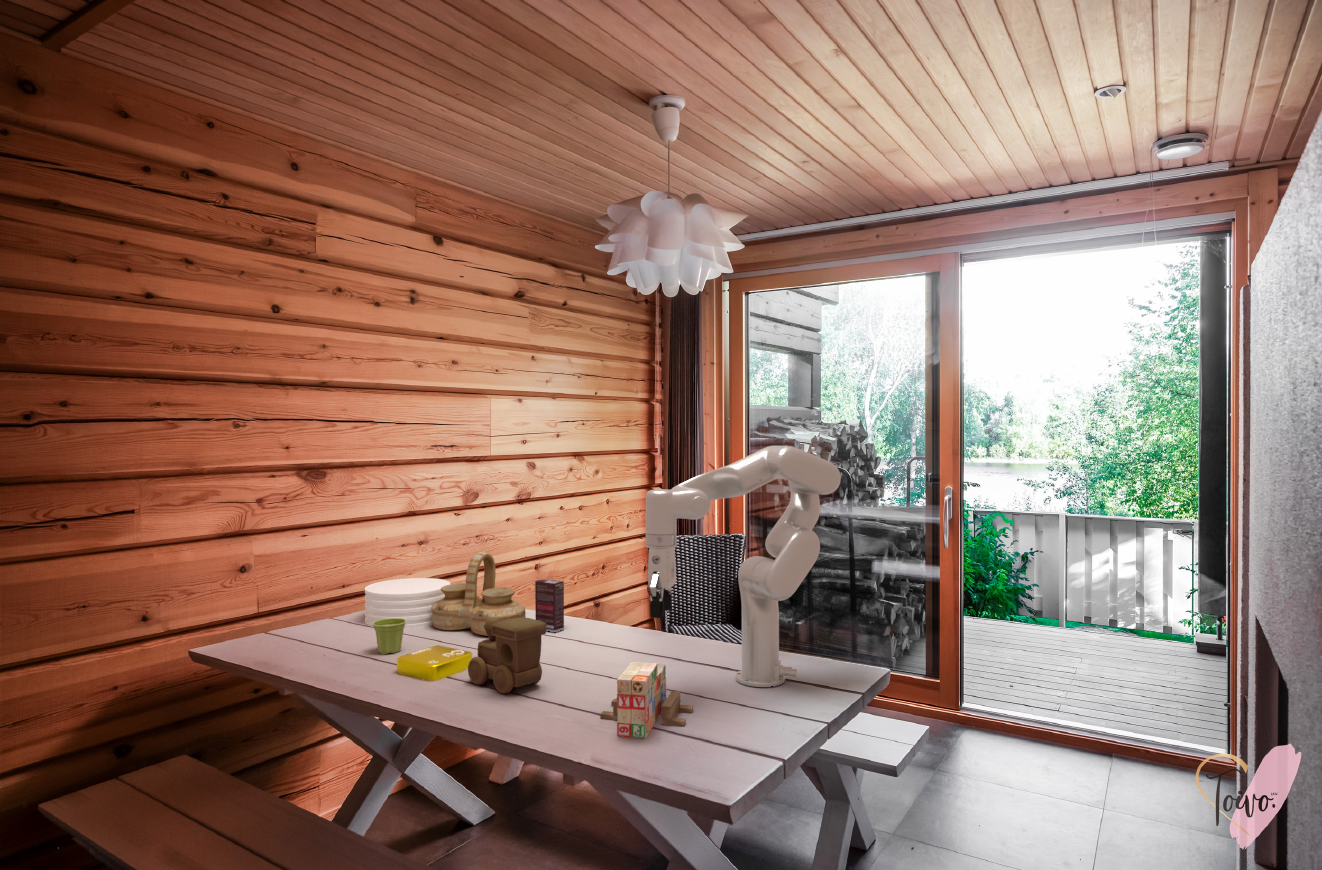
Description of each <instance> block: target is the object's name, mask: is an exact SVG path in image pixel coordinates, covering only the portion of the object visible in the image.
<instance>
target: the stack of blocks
mask: <svg viewBox="0 0 1322 870" xmlns="http://www.w3.org/2000/svg"><path fill="white" fill-rule="evenodd" d="M666 668H667V667H666V664H663V663H662V664H661V663H657V662H638V661H631V662H630V663H629V664H628V666H627V667H626V668H625V670H624V671H623V672H622V673H621V674H620V676H619V677H618V678H617V679H616V684H617V687H616V692H617V693H616V698H617V720H616V721H617V722H616V727H617V728H616V736H617V737H620V736H621V737H622V736H624V737H623V738H633V737H637V738H636V739H644V738H645V739H646V738H647V736H648V735H649V734H650V732H651V731H652V728H654V726H653V725H656V721H657V720H658V717H659V716H660V715H661V706H662V704H663V703H664V701H665V700H666V699H667V677H666V673H667V672H666Z"/></svg>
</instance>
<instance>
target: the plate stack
mask: <svg viewBox="0 0 1322 870" xmlns="http://www.w3.org/2000/svg"><path fill="white" fill-rule="evenodd" d="M450 584H451V582H450V581H448V580H446V579H442V578H436V577H435V578H432V577H409V578H397V579H388V580H384V581H383V580H382V581H378V582H374V583H371V584H368V585H367V586H365V588H364V594H365V595H364V601H365V602H364V608H365V610H364V617H365V618H364V623H365V625H367V626H370V627H373V628H374V626H373V625H372V623H373V622H375V621H378V620H382V619H389V618H401V619H405V620H406V623H405V627H404V629H412V628H420V627H421V628H422V627H427V626H432V625H433V623H432V609H431V607H432V605H434V604H435V603H436V602H438V601H439V600H441V599H443V598H444V597H445V594H444V593H443V592H442V591H441V588H442V587H443V586H446V585H450ZM431 624H432V625H431Z"/></svg>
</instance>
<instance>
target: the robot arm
mask: <svg viewBox="0 0 1322 870" xmlns="http://www.w3.org/2000/svg"><path fill="white" fill-rule="evenodd" d="M841 478H842V476H841V473H840V470H839V468H838V467H837V466H836V465H835V464H834V463H833V462H831V461H829V460H827V459H825V458H821V457H819V456H816V455H815V454H812V453H810V452H808V451H805V450H803V449H800V448H797V447H795V446H792V445H791V446H790V445H770V446H769V445H768V446H766V447H764V448H761V449H759V450H756V451H755V452H753V453H751V454H749V455H747V456H745V457H743V458H741V459H739V460H736V461H735V462H732V463H730V464H728V465H724V466H721V467H718V468H715V469H713V470H711V471H708V472H704V473H702V474H699V475H697V476H694V477H692V478H689V479H688V480H686V481H683V482H681V483H679V484H677V485H675V486H674V487H672V488H671V489H666V488H665V489H663V488H661V489H659V488H658V489H650V490H648V491H647V492H646V494H645V547H646V548H647V549H649V550H648V561H647V562H648V564H647V565H648V566H647V567H648V568H647V582H648V583H647V584H648V588H649V590H650V593H649V594H650V596H649V597H650V607H649V608H650V610H649V612H650V615H649V616H650V618H653V619H655V618H656V619H663V618H665V611H666V612H670V611H671V610H672V604H673V603H672V597H673V596H672V587H673V586H674V585H676V583H677V569H676V568H677V567H676V566H677V565H676V564H677V563H676V552H675V548H677V546H678V544H677V543H678V542H677V541H678V539H677V533H678V532H677V529H678V528H677V527H678V526H677V525H678V524H677V521H678V519H684V520H685V519H686V520H699V519H702V518H704V517H706V515H708V513H709V511H710V509H711V507H712V505H711V504H712V503H711V502H712V501H716V500H721V499H730V498H737V497H741V496H745V495H747V494H749V493H751V492H752V491H754V490H757V489H758V488H761V487H762V486H764V485H766V484H769V483H771V482H772V481H775V480H777V479H780V480H781V479H782V480H787V482H788V487H789V491H790V499H789V500H790V501H789V503H788V506H787V507H786V509H785V510H784V511H783V513H782V515H781V517H780V518H779V519H778V520H777V522H776V523H775V524H774V526H773V528H772V529H771V530H770V531H769V533H768V534H767V537H765V538H766V539H765V545H764V546H765V549H766V552H767V553H768V554H769V555H770V556H771V557H773V558H775V559H773V558H770V557H765V556H761V555H760V556H759V555H753V556H749V557H748V558H746V559H745V560H744V561H743V562H742V563H741V565H740V566H739V569H738V573H737V574H738V575H737V576H738V577H737V578H738V587H739V592H740V601H741V670H738V671H737V672H736V674H735V680H736V681H737V682H738V683H740V684H741V685H745V686H749V687H754V688H770V687H771V686H773V687H778V686H781V685H782V683H783V684H784V683H785V682H786V676H787V677H793V678H794V677H795V678H796V677H797V668H793V666H784V665H783V664H782V660H780V652H779V651H780V610H779V601H780V602H782V601H785V600H787V599H789V598H791V597H792V596H793V595H794V594H795V592H796V591H797V590H798V588H799V587H800V586H801V584H802V582H803V581H804V580H805V578H806V577H807V576H808V574H809V572H810V571H811V569H812V568H813V566H814V565H815V563H816V561H817V559H818V558H819V556H820V551H821V544H820V543H821V542H820V539H819V536H818V534H816V532H815V531H814V530H813V529H814V527H815V526H816V524H817V522H818V520H819V517H820V513H821V503H820V495H823V496H824V495H825V496H826V495H829V494H832V493H834V492H836V491H837V490H838V488H839V486H840V484H841V480H842V479H841ZM784 681H785V682H784ZM780 684H781V685H780ZM777 685H778V686H777ZM771 688H772V687H771Z"/></svg>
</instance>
